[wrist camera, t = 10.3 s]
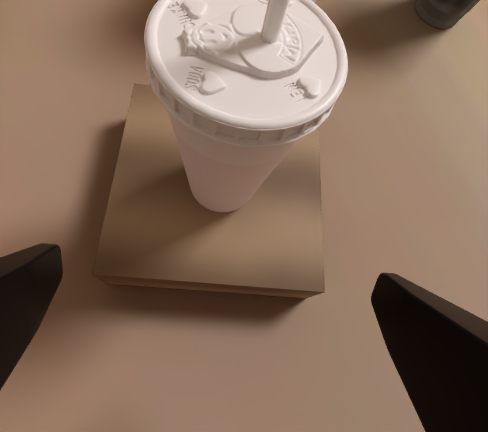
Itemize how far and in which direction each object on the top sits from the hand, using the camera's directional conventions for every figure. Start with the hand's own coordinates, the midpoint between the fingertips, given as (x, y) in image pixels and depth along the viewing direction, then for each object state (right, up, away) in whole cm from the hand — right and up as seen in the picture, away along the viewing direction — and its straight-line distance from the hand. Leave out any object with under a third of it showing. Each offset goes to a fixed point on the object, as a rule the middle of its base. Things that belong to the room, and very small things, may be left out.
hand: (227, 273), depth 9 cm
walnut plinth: (-1, +3, +12) cm, 13 cm away
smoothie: (-1, +3, +10) cm, 10 cm away
